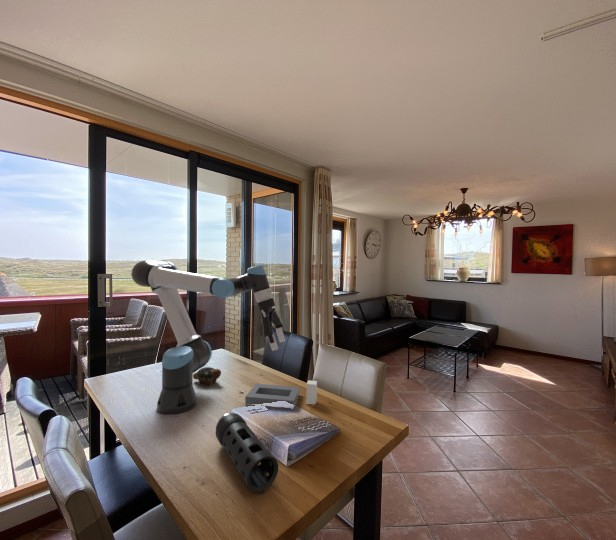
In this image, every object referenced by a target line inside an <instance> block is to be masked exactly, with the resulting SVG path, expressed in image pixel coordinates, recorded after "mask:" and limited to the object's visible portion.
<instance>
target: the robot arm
mask: <svg viewBox="0 0 616 540" xmlns="http://www.w3.org/2000/svg"><path fill="white" fill-rule="evenodd" d="M131 279H132V281H133V282H134V283H135V284H136V285H138V286H140V287H144V288H146V287H147V288H150V289H151V292H152V294H156V295H157V297H158V299H159V301H160V303H161V306H162V308H163V310H164V313H165V315H166V318H167V320H168V322H169V324H170V327H171V330H172V332H173V334H174V336H175V337H174V338H175V339H176V341H177V344H176V346H175V347H171V348H169V349H167V350H166V351H165V352H164V353H163V355H162V361H161V369H162V370H161V371H162V372H161V376H162V378H161V381H162V382H161V391H160V395H159V397H158V400H157V404H156V405H157V406H156V410H157V412H158V413H161V414H165V415H175V414H176V415H177V414H180V413H185V412H187V411H190V410H192V409H193V408H195V406H197V398H198V397H197V395H196V392H195V388H194V384H193V379H194V378H193V375H194V374H195V373H196V372H198V371H199V370H200V369H202V368H205V366H206V365H207V364H208V363H209V362H210V360H211V358H212V355H213V351H212V347H211V345H210V344H209V342H208V341H206V340H203V337H202V335H199V334H197V332H196V330H195V328H194V325H193V323H192V321H191V318H190V316H189V314H188V311H187V309H186V306H185V304H184V302H183V299H182V297H181V294H180V293H179V290H182V291H189V292H193V293H194V292H195V293H201V294H205V295H212V296H215V297H217V298H220V299H221V298H222V299H224V298H225V299H226V298H228V297H229V298H230V297H235V296H237V295H240V294H243V293H246V292H249V291H253V295H254V299H255V302H257V304H256V305H257V307H258V311H262V312H261V314H260V315H261V318H262V323H263V324H262V325H263V331H264V332H263V333H264V338H265V337H266V338H267V339H268V343H269V346H270V349H271V352H274V351H277V350H279V345H278V344H277V340H276V337H275V334H274V332H273V326H274V327H275V332H276V335H277V338H278V342H279V343H283V342H286V337H285V333H284V331H283V327H284V325H283V323H282V321H281V318H280V317H279V315H278V313H277V310H276V307H275V306H276V302H275V299H274V298H273V294H272V292H273V290H272V289H271V286H270V283H269V281H268V276H267V273H266V272H265V269H264V266H263V265H261V264H258V265H255V266H251V267H248V268H247V269H246V273H245V274H244V275H240V276H235V277H229V278H227V277H220V276H213V275H207V274H200V273H194V272H187V271H181V270H179V269H178V267H177V266H176V265H175V264H174V263H172V262H171V261H167V260H164V259H163V260H162V259H161V260H149V259H148V260H147V259H146V260H140V261H138V262H137V263H135V265H134V266H133V267H132V269H131Z"/></svg>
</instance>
